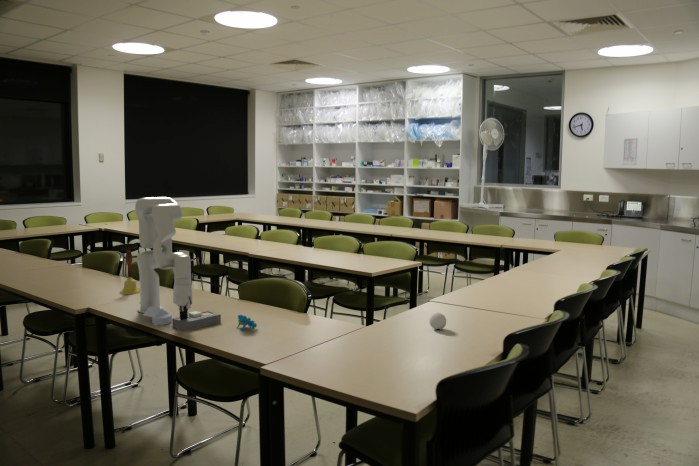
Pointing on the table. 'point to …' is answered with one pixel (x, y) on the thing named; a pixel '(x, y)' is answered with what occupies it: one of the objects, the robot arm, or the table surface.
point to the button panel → (197, 321)
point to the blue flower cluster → (245, 322)
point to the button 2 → (195, 314)
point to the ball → (437, 321)
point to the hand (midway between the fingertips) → (183, 318)
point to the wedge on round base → (158, 316)
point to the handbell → (129, 278)
